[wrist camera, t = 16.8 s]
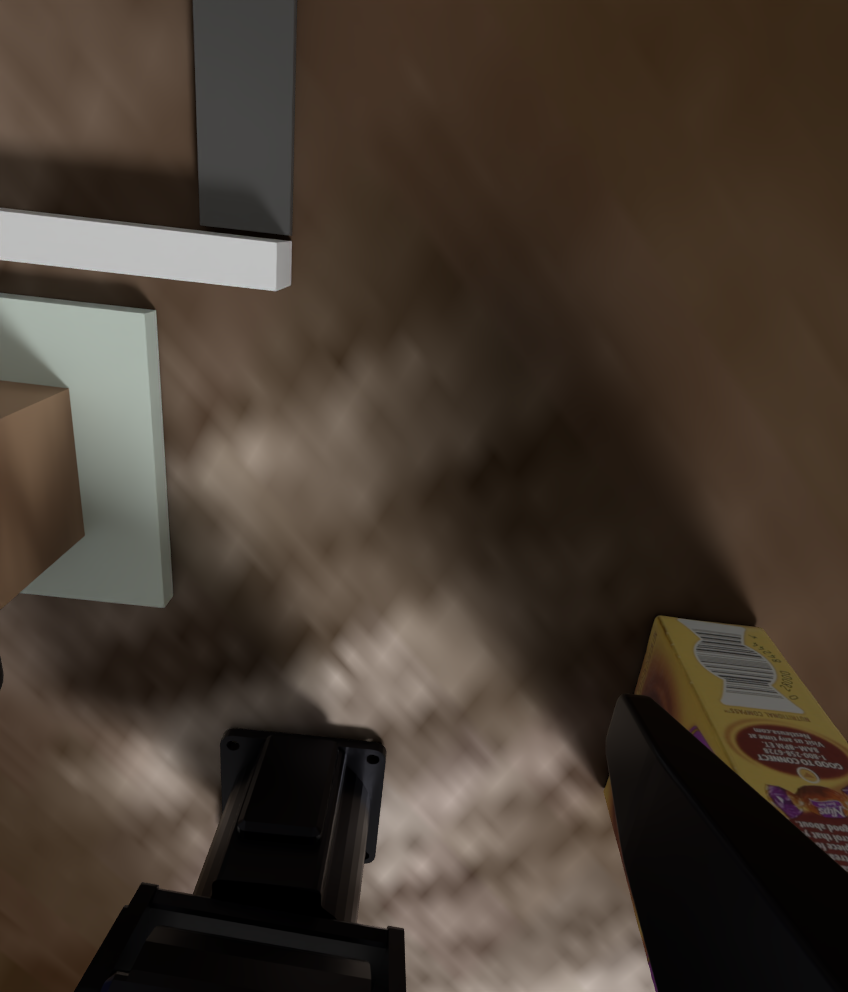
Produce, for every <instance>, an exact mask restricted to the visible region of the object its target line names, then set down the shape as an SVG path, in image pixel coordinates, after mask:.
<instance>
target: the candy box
mask: <svg viewBox="0 0 848 992" xmlns="http://www.w3.org/2000/svg"><path fill="white" fill-rule="evenodd" d="M634 694H636V695H645V696H649V697H651V698H652V699H653V700H655V701H656V702H657V703H658V704H659V705H660V706H661V707H662V708H664V709H665V710H666V711H667V712H668V713H669V714H670V715H671V716H673V717H674V718H675V719H676V720H677V721H678V722H679V723H680V724H682V725H683V726H684V727H685V728H686V729H687V730H688V731H689V732H691V733H692V734H693V735H694V736H695V737H696V738H697V739H698V740H700V741H701V742H702V743H703V744H704V745H705V746H706V747H707V748H709V749H710V750H711V751H712V752H713V753H714V754H715V755H716V756H718V757H719V758H720V759H721V760H722V761H723V762H724V763H725V764H727V765H728V766H729V767H730V768H731V769H732V770H733V771H734V772H736V773H737V774H738V775H739V776H740V777H741V778H742V779H743V780H745V781H746V782H747V783H748V784H749V785H750V786H751V787H752V788H754V789H755V790H756V791H757V792H758V793H759V794H760V795H761V796H763V797H764V798H765V799H766V800H767V801H768V802H769V803H770V804H772V805H773V806H774V807H775V808H776V809H777V810H778V811H779V812H781V813H782V814H783V815H784V816H785V817H786V818H787V819H788V820H790V821H791V822H792V823H793V824H794V825H795V826H796V827H797V828H799V829H800V830H801V831H802V832H803V833H804V834H805V835H806V836H808V837H809V838H810V839H811V840H812V841H813V842H814V843H815V844H817V845H818V846H819V847H820V848H821V849H822V850H823V851H824V852H826V853H827V854H828V855H829V856H830V857H831V858H832V859H833V860H835V861H836V862H837V863H838V864H839V865H840V866H841V867H842V868H844V869H845V870H846V871H847V872H848V743H847V741H846V740H845V739H844V737H843V736H842V735H841V733H840V732H839V731H838V729H837V728H836V727H835V725H834V724H833V723H832V721H831V720H830V719H829V717H828V716H827V715H826V713H825V712H824V711H823V709H822V708H821V706H820V705H819V704H818V702H817V701H816V700H815V698H814V697H813V696H812V694H811V693H810V692H809V690H808V689H807V688H806V686H805V685H804V684H803V683H802V681H801V680H800V678H799V677H798V676H797V674H796V673H795V672H794V670H793V669H792V668H791V666H790V665H789V664H788V662H787V661H786V660H785V659H784V657H783V656H782V654H781V653H780V652H779V650H778V649H777V647H776V646H775V644H774V643H773V642H772V641H771V639H770V638H769V637H768V635H767V634H766V632H765V631H764V630H763V629H762V628H759V627H753V626H744V625H734V624H726V623H718V622H708V621H698V620H689V619H682V618H675V617H668V616H661V615H659V616H657V617H656V618H655V620H654V623H653V627H652V630H651V634H650V637H649V642H648V645H647V651H646V654H645V657H644V661H643V664H642V668H641V671H640V675H639V678H638V682H637V685H636V689H635V692H634ZM604 795H605V799H606V803H607V806H608V810H609V814H610V818H611V822H612V826H613V829H614V833H615V837H616V840H617V844H618V848H619V852H620V855H621V859H622V863H623V867H624V871H625V875H626V879H627V883H628V887H629V890H630V895H631V899H632V903H633V907H634V912H635V916H636V920H637V923H638V927H639V931H640V934H641V937H642V941H643V945H644V948H645V952H646V956H647V961H648V965H649V967H650V971H651V977H652V980H653V983H654V986H655V991H656V992H658V991H657V987H656V983H655V980H654V976H653V972H652V968H651V965H650V961H649V957H648V953H647V950H646V946H645V942H644V938H643V935H642V931H641V927H640V923H639V920H638V916H637V912H636V908H635V904H634V901H633V897H632V893H631V889H630V886H629V882H628V878H627V874H626V870H625V866H624V862H623V858H622V852H621V846H620V841H619V834H618V828H617V821H616V815H615V808H614V802H613V796H612V789H611V783H610V776H609V778H608V781H607V784H606V786H605V789H604Z"/></svg>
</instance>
